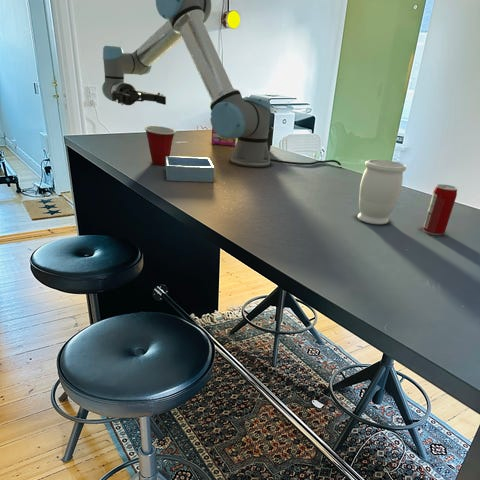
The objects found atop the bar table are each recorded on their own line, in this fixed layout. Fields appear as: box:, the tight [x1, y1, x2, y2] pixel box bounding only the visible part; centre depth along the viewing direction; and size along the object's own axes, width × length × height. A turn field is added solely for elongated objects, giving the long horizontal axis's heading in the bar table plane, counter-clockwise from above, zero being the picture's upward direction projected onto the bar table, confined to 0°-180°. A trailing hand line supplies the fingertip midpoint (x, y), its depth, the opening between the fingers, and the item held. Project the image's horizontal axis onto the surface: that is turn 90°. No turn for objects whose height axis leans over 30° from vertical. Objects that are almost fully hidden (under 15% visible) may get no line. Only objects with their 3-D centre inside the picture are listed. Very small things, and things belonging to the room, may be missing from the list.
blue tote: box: [165, 155, 215, 183], centre depth 148 cm, size 15×15×5 cm
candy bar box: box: [211, 126, 237, 147], centre depth 203 cm, size 11×5×16 cm, turn 81°
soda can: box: [422, 183, 458, 236], centre depth 113 cm, size 6×6×12 cm
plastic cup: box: [144, 125, 176, 166], centre depth 159 cm, size 11×11×12 cm
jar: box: [357, 159, 407, 225], centre depth 117 cm, size 11×10×15 cm
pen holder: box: [267, 126, 274, 152], centre depth 197 cm, size 9×9×10 cm
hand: (147, 100), depth 158 cm, fingers open, 13 cm apart
